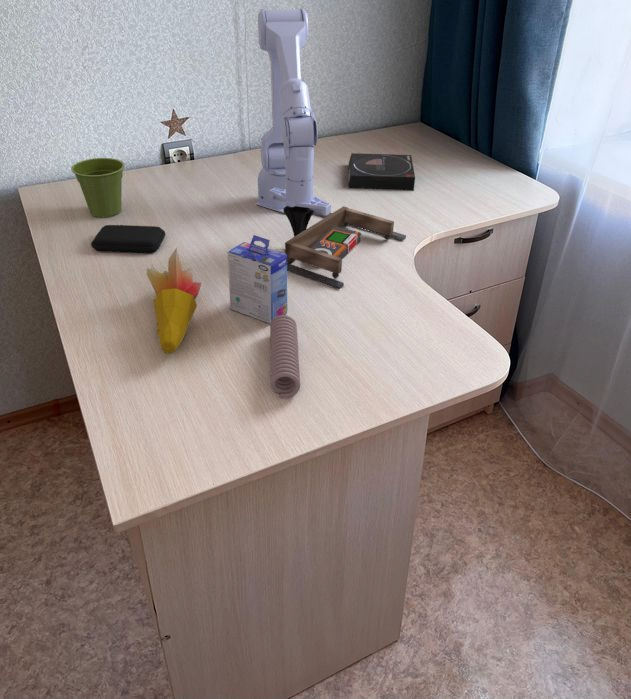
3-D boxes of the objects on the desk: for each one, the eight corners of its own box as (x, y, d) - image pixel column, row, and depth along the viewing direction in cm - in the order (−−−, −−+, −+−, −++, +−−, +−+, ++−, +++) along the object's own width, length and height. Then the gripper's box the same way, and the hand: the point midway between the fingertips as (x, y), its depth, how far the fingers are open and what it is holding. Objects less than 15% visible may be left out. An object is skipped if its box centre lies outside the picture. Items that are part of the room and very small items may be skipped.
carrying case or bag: (169, 234, 151) (105, 232, 151) (167, 222, 149) (102, 219, 149) (158, 256, 142) (89, 254, 142) (156, 243, 140) (87, 241, 141)
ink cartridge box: (289, 311, 124) (288, 242, 116) (272, 325, 121) (270, 254, 112) (247, 296, 129) (243, 228, 120) (229, 309, 125) (224, 239, 116)
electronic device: (302, 254, 139) (334, 223, 149) (302, 266, 140) (334, 235, 151) (331, 262, 136) (361, 230, 146) (331, 274, 138) (361, 242, 148)
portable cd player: (348, 167, 186) (349, 153, 184) (409, 169, 186) (411, 155, 183) (347, 190, 173) (348, 175, 171) (413, 192, 172) (415, 177, 170)
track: (237, 253, 143) (237, 249, 143) (311, 209, 161) (311, 206, 161) (339, 289, 131) (339, 286, 131) (405, 238, 150) (406, 235, 149)
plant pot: (138, 215, 158) (131, 169, 151) (88, 226, 153) (79, 179, 146) (122, 198, 166) (115, 153, 159) (74, 208, 161) (64, 162, 154)
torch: (167, 378, 114) (171, 288, 132) (207, 359, 112) (205, 270, 130) (137, 349, 108) (145, 258, 126) (179, 329, 106) (180, 240, 125)
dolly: (285, 262, 140) (284, 242, 137) (343, 224, 155) (343, 206, 152) (337, 280, 134) (338, 260, 131) (392, 239, 149) (394, 220, 146)
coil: (268, 314, 116) (268, 378, 102) (295, 311, 116) (298, 374, 102) (271, 335, 119) (272, 401, 104) (297, 332, 119) (302, 398, 104)
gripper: (259, 174, 136) (261, 235, 144) (317, 191, 130) (316, 253, 138) (280, 164, 141) (281, 223, 149) (337, 180, 135) (335, 240, 143)
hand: (299, 237), depth 144 cm, fingers closed
